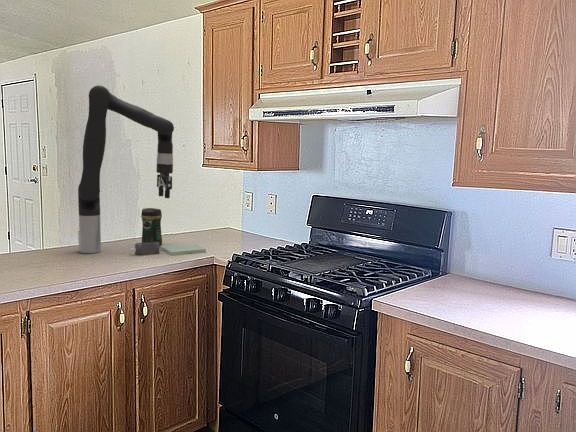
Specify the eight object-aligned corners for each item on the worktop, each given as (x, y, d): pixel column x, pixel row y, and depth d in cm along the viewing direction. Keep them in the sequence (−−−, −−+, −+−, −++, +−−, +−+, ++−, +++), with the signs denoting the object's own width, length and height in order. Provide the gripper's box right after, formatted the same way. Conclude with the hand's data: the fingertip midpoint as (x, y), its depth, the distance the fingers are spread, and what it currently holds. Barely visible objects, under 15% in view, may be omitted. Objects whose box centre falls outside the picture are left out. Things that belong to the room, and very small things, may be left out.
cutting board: (171, 255, 239) (171, 252, 239) (159, 249, 252) (159, 245, 252) (205, 252, 248) (205, 249, 247) (193, 246, 261) (193, 243, 261)
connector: (131, 256, 235) (131, 245, 234) (128, 254, 239) (128, 243, 238) (160, 253, 242) (160, 243, 241) (157, 252, 246) (157, 241, 245)
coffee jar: (164, 244, 263) (164, 208, 260) (154, 247, 256) (154, 209, 253) (149, 242, 267) (148, 206, 264) (138, 245, 259) (138, 208, 257)
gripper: (152, 162, 251) (151, 195, 253) (162, 163, 239) (161, 198, 242) (167, 162, 255) (166, 195, 257) (177, 164, 244) (177, 198, 246)
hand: (164, 197), depth 249 cm, fingers open, 8 cm apart
